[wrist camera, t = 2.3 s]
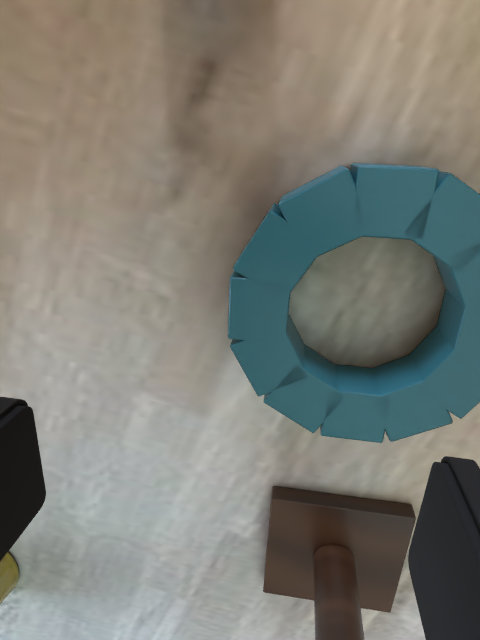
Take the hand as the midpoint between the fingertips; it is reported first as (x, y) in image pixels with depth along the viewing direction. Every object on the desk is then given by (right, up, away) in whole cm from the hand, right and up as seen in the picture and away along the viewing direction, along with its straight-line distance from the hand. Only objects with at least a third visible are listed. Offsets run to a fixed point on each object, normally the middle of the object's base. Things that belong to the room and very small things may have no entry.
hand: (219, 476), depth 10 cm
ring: (+6, +5, +10) cm, 13 cm away
